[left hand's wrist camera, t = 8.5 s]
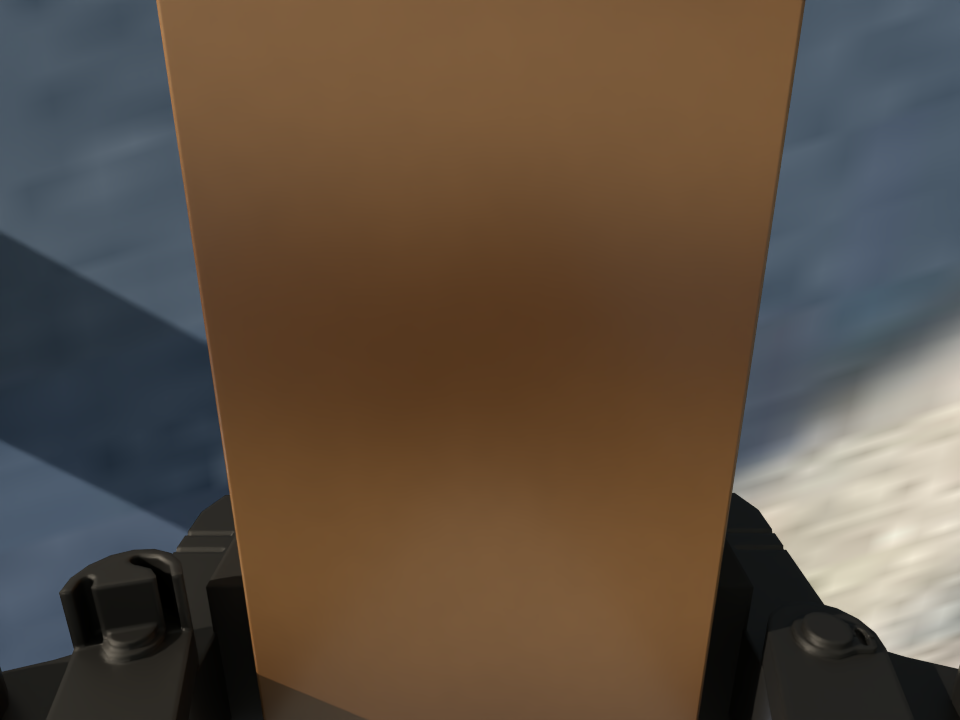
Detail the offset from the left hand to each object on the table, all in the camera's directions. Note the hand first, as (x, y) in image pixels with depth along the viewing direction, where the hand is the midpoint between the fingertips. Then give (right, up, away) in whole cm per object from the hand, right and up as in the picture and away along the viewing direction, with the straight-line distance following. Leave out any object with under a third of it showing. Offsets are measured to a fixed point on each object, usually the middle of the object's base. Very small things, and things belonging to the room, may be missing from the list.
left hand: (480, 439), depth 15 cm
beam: (0, +25, -9) cm, 26 cm away
